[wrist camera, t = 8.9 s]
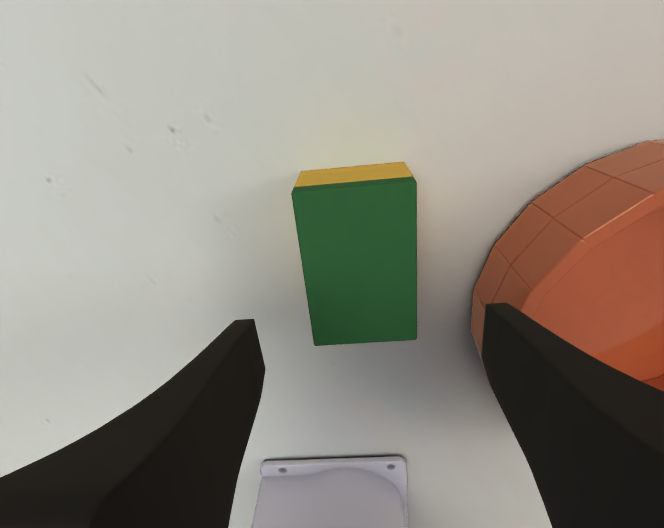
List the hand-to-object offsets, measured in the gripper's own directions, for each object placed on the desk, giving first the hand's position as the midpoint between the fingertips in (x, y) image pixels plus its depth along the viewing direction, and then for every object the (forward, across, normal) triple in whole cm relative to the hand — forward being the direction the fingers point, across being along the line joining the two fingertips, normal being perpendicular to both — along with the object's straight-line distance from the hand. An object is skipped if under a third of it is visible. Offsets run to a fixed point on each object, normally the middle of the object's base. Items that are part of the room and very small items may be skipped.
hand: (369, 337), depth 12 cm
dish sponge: (+7, 0, 0) cm, 7 cm away
